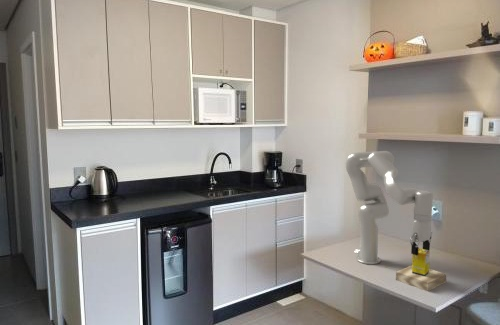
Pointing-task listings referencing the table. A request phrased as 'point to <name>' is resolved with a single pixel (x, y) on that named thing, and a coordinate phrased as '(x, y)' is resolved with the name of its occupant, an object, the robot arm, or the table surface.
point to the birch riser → (421, 278)
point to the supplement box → (421, 262)
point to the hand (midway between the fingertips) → (420, 252)
